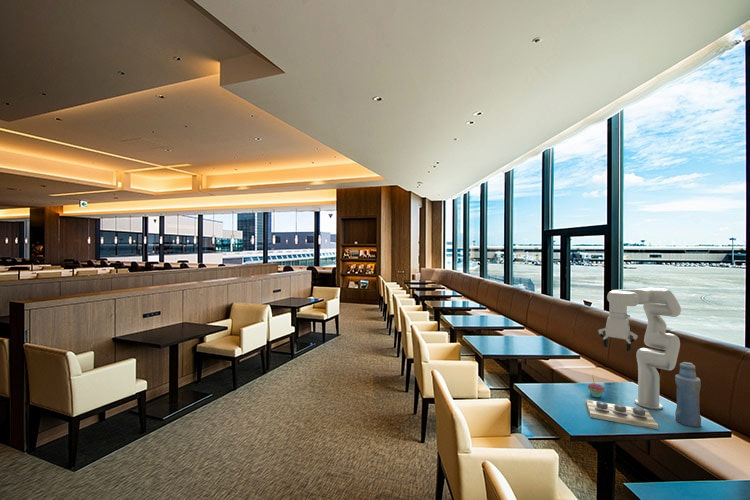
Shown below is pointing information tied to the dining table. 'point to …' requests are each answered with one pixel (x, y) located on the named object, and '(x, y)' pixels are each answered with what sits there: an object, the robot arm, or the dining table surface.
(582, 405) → the dining table surface
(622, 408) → the button middle
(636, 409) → the button near bottle
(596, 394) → the cupcake
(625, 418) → the button board
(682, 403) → the bottle
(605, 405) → the button far
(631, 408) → the pattern card
